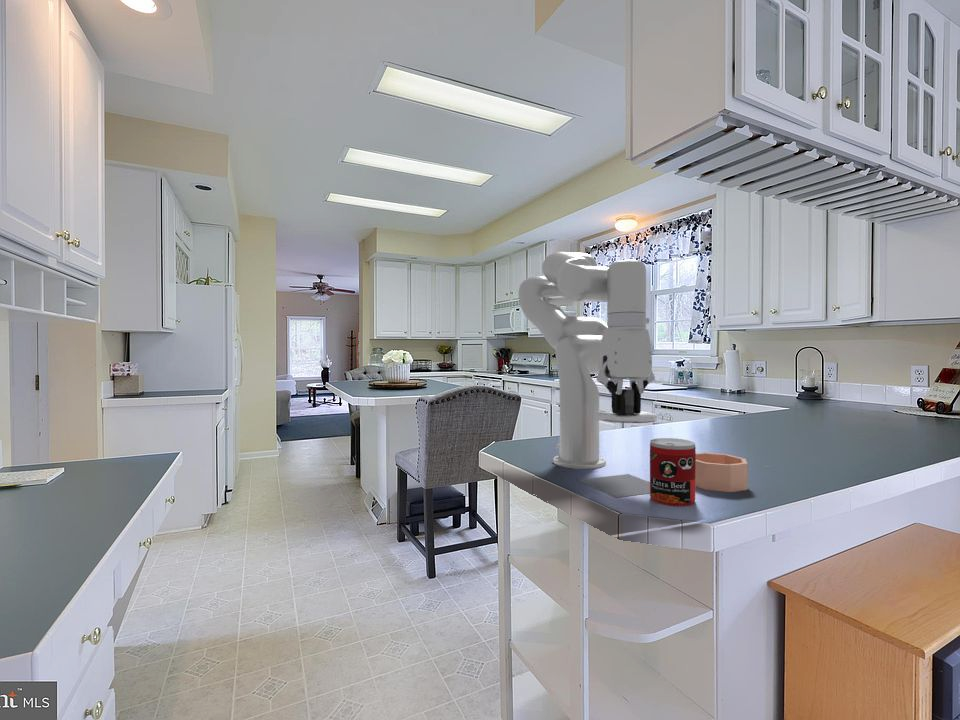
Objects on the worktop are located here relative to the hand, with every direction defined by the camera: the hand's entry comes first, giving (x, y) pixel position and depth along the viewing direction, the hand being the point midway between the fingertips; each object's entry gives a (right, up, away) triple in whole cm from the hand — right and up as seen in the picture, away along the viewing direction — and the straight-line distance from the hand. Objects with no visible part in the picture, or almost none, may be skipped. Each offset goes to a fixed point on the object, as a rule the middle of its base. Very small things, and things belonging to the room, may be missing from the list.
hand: (626, 412), depth 94 cm
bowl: (+19, -15, +1) cm, 24 cm away
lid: (0, -1, 0) cm, 1 cm away
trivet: (-1, -15, 0) cm, 15 cm away
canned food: (+5, -16, -9) cm, 19 cm away
